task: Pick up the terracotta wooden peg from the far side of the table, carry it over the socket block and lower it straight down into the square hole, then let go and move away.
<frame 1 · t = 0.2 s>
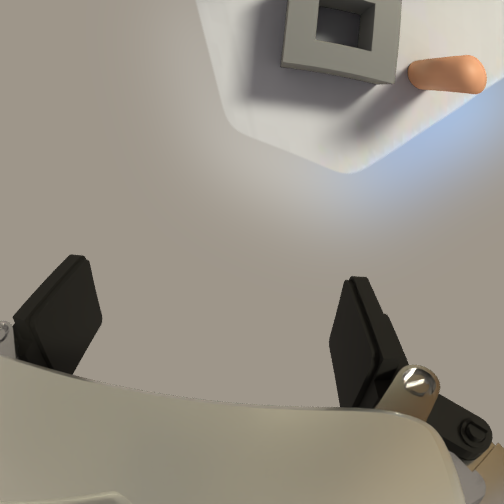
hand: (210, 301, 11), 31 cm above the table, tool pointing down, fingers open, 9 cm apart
socket block: (335, 30, 31), on the table
peg: (421, 75, 32), on the table
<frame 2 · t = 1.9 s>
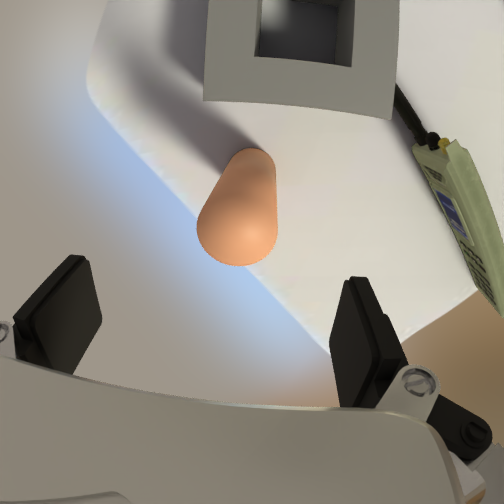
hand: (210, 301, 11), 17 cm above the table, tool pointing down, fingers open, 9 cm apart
handheld radio: (449, 198, 26), on the table
socket block: (298, 33, 21), on the table
peg: (251, 171, 26), on the table
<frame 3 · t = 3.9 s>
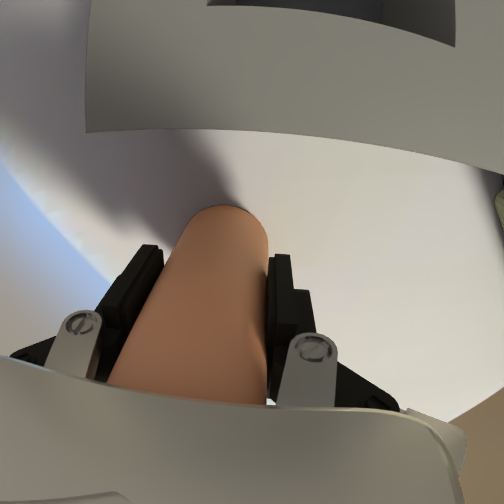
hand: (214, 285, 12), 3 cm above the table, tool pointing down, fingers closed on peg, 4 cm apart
peg: (224, 246, 15), on the table, touching gripper
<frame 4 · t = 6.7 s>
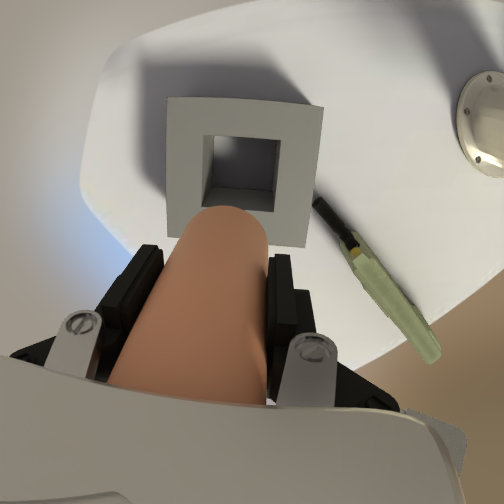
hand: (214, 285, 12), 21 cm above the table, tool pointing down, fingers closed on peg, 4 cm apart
handheld radio: (377, 273, 36), on the table
socket block: (243, 159, 30), on the table
peg: (224, 246, 15), point 18 cm above the table, touching gripper
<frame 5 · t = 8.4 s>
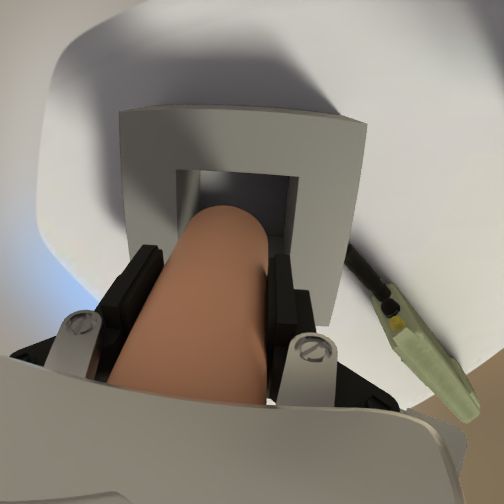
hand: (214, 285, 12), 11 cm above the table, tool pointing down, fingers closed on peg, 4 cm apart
handheld radio: (414, 327, 27), on the table
socket block: (243, 193, 22), on the table
peg: (224, 246, 15), point 8 cm above the table, touching gripper
when the fingers open (7 cm above the table, at t = 9.5 s): peg drops 4 cm, resting in socket block.
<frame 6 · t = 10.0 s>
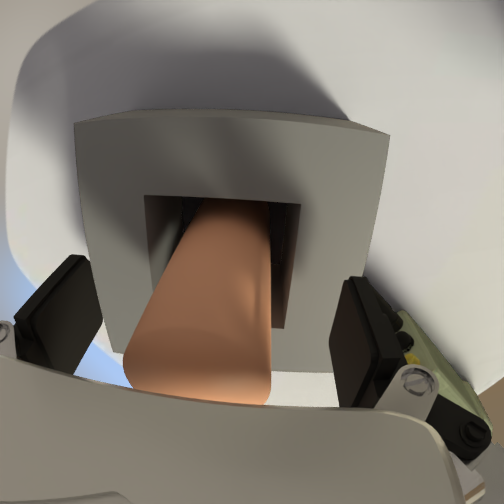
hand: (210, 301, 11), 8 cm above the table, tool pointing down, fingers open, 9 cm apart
handheld radio: (426, 353, 24), on the table
socket block: (233, 214, 19), on the table
peg: (234, 214, 19), resting in socket block
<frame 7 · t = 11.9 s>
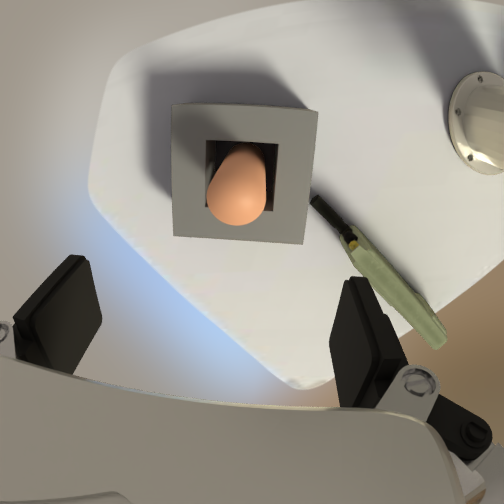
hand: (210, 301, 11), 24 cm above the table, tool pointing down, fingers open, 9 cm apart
handheld radio: (379, 263, 38), on the table
socket block: (244, 161, 32), on the table
peg: (245, 161, 32), resting in socket block
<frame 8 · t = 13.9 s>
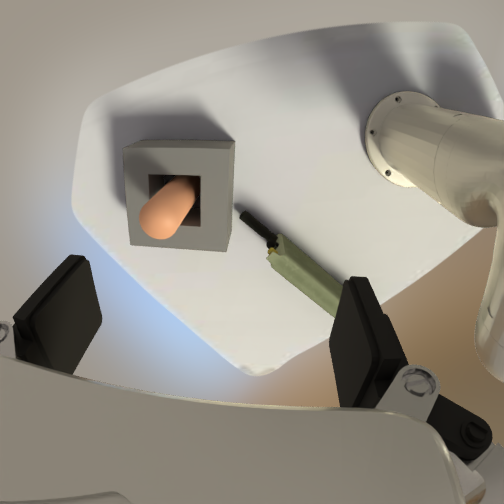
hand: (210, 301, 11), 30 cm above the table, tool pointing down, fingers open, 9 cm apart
handheld radio: (309, 265, 46), on the table
socket block: (186, 185, 40), on the table
peg: (187, 185, 40), resting in socket block
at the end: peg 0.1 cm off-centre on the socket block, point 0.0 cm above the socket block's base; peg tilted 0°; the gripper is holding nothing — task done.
